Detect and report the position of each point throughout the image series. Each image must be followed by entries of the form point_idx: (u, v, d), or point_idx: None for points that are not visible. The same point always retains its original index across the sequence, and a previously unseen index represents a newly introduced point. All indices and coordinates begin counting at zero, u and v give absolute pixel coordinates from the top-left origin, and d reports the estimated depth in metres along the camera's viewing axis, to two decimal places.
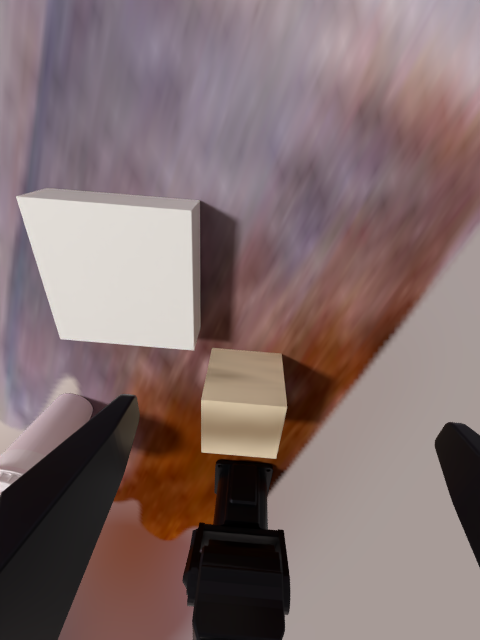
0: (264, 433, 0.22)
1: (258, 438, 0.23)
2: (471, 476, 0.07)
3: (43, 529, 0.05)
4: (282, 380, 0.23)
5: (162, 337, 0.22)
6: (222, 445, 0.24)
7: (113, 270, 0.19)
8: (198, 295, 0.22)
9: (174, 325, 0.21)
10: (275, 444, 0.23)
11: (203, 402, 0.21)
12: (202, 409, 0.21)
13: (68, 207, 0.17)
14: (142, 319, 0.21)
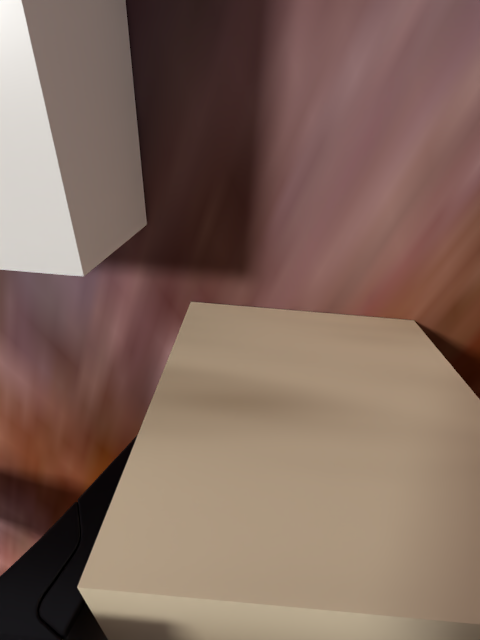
0: None
1: None
2: None
3: None
4: None
5: None
6: None
7: None
8: (106, 4, 0.04)
9: None
10: None
11: (96, 597, 0.03)
12: (102, 619, 0.04)
13: None
14: None
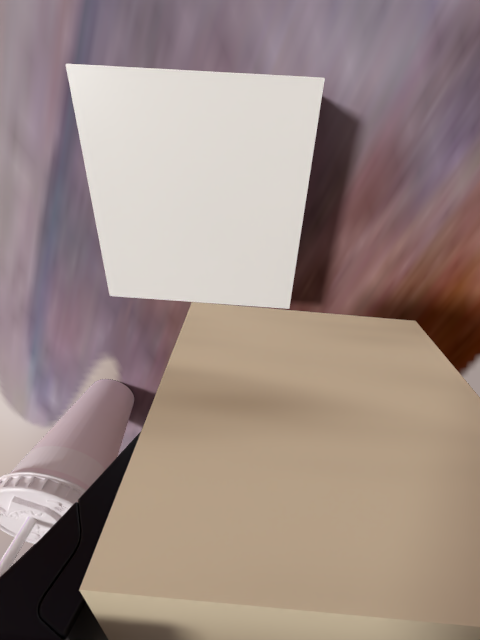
0: None
1: None
2: None
3: None
4: None
5: (249, 290, 0.16)
6: None
7: (194, 186, 0.14)
8: None
9: (268, 271, 0.15)
10: None
11: (98, 599, 0.03)
12: (103, 621, 0.03)
13: (141, 80, 0.12)
14: (224, 262, 0.15)
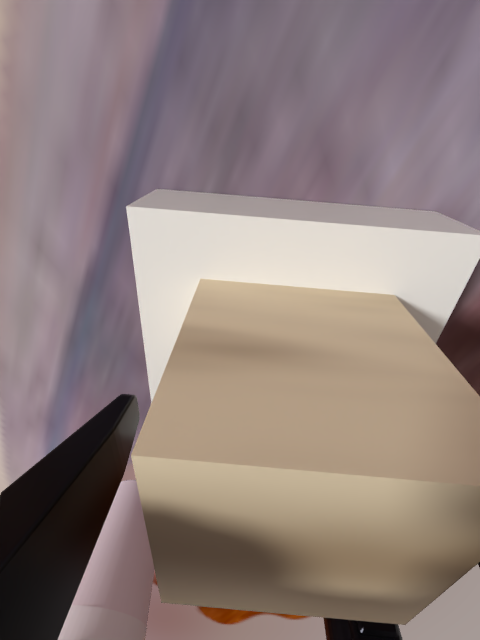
0: (395, 571, 0.06)
1: (366, 583, 0.06)
2: None
3: (43, 529, 0.05)
4: (448, 367, 0.06)
5: None
6: (230, 592, 0.07)
7: None
8: None
9: None
10: (422, 598, 0.06)
11: (143, 466, 0.04)
12: (143, 493, 0.05)
13: (231, 228, 0.08)
14: None
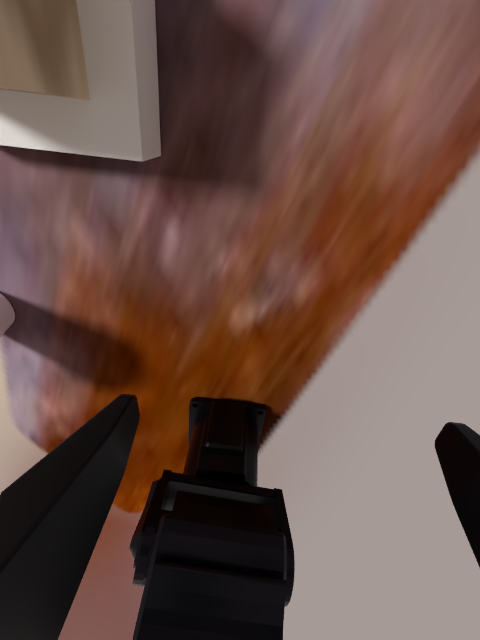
0: None
1: None
2: (471, 476, 0.07)
3: (43, 529, 0.05)
4: None
5: (87, 130, 0.13)
6: None
7: None
8: (152, 68, 0.13)
9: (104, 99, 0.12)
10: None
11: None
12: None
13: None
14: None
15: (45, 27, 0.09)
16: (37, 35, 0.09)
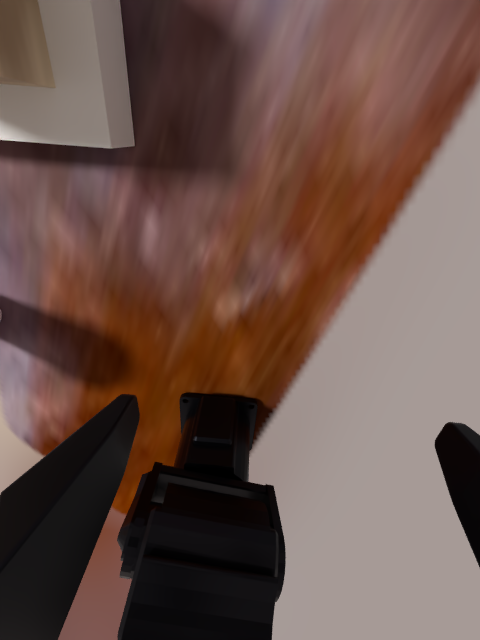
0: None
1: None
2: (471, 476, 0.07)
3: (43, 529, 0.05)
4: None
5: (55, 119, 0.13)
6: None
7: None
8: (119, 56, 0.13)
9: (70, 86, 0.12)
10: None
11: None
12: None
13: None
14: None
15: (0, 11, 0.09)
16: None
